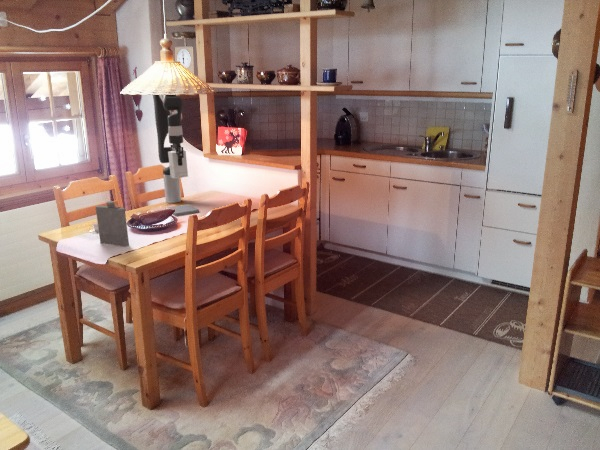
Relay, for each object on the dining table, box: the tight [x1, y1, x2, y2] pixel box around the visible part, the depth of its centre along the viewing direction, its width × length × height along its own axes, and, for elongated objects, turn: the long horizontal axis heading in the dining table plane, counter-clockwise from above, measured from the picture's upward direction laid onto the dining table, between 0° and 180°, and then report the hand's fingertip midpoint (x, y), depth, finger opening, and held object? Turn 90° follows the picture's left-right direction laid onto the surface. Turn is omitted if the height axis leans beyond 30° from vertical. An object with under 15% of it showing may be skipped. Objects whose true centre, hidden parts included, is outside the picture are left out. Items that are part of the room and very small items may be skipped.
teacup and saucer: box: [89, 222, 99, 234], centre depth 266 cm, size 9×8×4 cm
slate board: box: [166, 203, 200, 217], centre depth 300 cm, size 16×14×2 cm
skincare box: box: [168, 149, 189, 179], centre depth 293 cm, size 8×6×15 cm
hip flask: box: [95, 200, 130, 247], centre depth 243 cm, size 16×4×20 cm, turn 67°
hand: (178, 164), depth 293 cm, fingers closed on skincare box, 6 cm apart
